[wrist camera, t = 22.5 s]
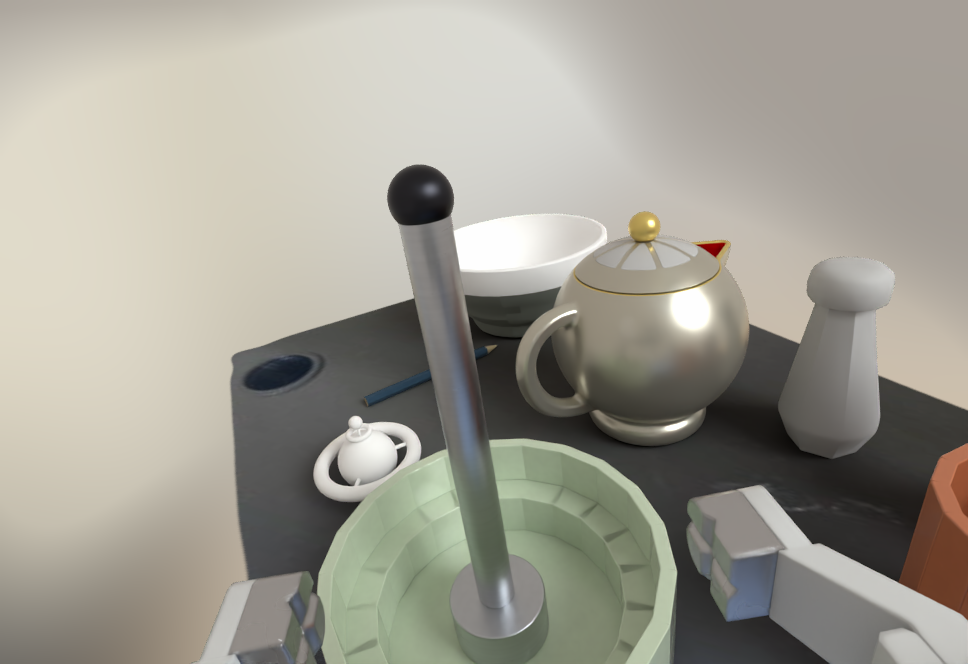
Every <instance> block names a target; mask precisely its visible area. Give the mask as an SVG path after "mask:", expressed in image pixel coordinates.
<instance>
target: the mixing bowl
mask: <svg viewBox="0 0 968 664" xmlns="http://www.w3.org/2000/svg"><path fill="white" fill-rule="evenodd" d="M489 442H490V448H491V454H492V460H493V466H494V472H495V478H496V484H497V489H498V495H499V501H500V507H501V513H502V519H503V525H504V531H505V537H506V543H507V548H508V554H512V555H516V556H519V557H521V558H523V559H525V560H527V561H528V562H529V563H531V564H532V565H533V566H534V567H535V568H536V569H537V571H538V572H539V574H540V575H541V577H542V580H543V583H544V587H545V594H546V602H547V609H548V617H549V628H548V633H547V637H546V639H545V642H544V643H543V645H542V647H541V648H540V650H539V651H538V652H537V653H536V654H535V655H534V656H533V657H532V658H531V659H530V660H529V661H527V662H525V663H524V664H673V659H674V651H675V624H676V594H677V569H676V565H675V561H674V557H673V554H672V550H671V546H670V542H669V538H668V535H667V531H666V527H665V525H664V523H663V521H662V520H661V518H660V517H659V515H658V514H657V513H656V511H655V510H654V508H653V507H652V506H651V504H650V503H649V501H648V500H647V498H646V497H645V496H644V494H643V493H642V491H641V490H640V488H638V486H637V485H635V484H634V483H633V482H631V481H630V480H629V479H627V478H626V477H625V476H624V475H622V474H621V473H620V472H618V471H617V470H616V469H614V468H613V467H612V466H610V465H609V464H608V463H606V462H605V461H604V460H601V459H599V458H596V457H594V456H591V455H589V454H587V453H584V452H582V451H579V450H577V449H574V448H572V447H569V446H567V445H563V444H556V443H550V442H544V441H538V440H531V439H525V438H524V439H523V438H521V439H501V440H489ZM469 563H471V558H470V553H469V548H468V544H467V539H466V534H465V530H464V525H463V521H462V516H461V511H460V507H459V502H458V497H457V493H456V488H455V483H454V479H453V474H452V470H451V465H450V460H449V456H448V451H447V449H445V450H442V451H439V452H437V453H435V454H433V455H430V456H428V457H426V458H424V459H422V460H420V461H418V462H416V463H414V464H412V465H409V466H407V467H405V468H403V469H401V470H399V471H398V472H397V473H396V474H394V475H393V476H392V477H390V478H389V479H388V480H386V481H385V482H384V483H382V484H381V485H380V486H379V487H377V488H376V489H375V490H373V491H372V492H371V493H369V494H368V495H367V496H366V497H365V498H364V500H363V501H362V502H361V503H360V504H359V506H358V507H357V508H356V509H355V511H354V512H353V513H352V514H351V515H350V517H349V518H348V519H347V520H346V522H345V523H344V524H343V525H342V526H341V528H340V529H339V530H338V532H337V533H336V535H335V538H334V540H333V542H332V544H331V547H330V549H329V551H328V553H327V556H326V558H325V560H324V563H323V565H322V567H321V569H320V572H319V576H318V586H317V595H318V596H320V599H321V601H322V604H323V608H324V613H325V634H324V641H323V645H322V647H321V649H322V652H323V655H324V658H325V662H326V664H477V663H475V662H474V661H472V660H471V659H470V658H469V657H468V656H467V655H466V654H465V653H464V651H463V649H462V648H461V646H460V644H459V641H458V637H457V633H456V630H455V626H454V622H453V618H452V614H451V610H450V604H449V597H450V591H451V588H452V585H453V583H454V580H455V579H456V577H457V575H458V574H459V573H460V572H461V570H462V569H463V568H464V567H465V566H467V565H468V564H469Z"/></svg>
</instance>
